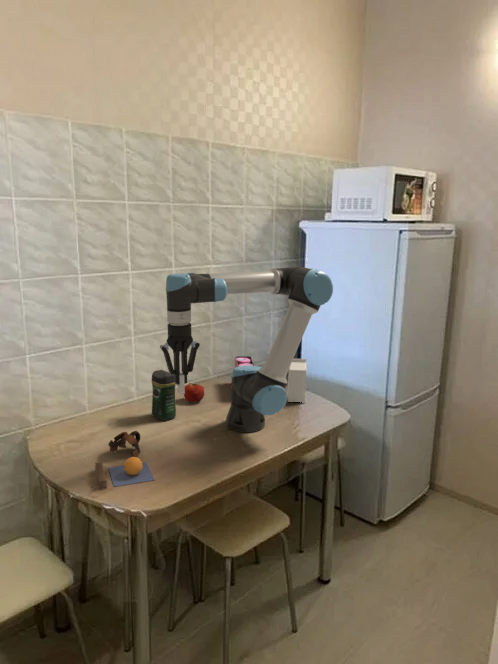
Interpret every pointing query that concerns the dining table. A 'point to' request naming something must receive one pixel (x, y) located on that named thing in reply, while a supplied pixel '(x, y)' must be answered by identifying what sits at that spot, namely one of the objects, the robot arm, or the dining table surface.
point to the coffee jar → (163, 395)
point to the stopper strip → (101, 475)
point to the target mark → (123, 478)
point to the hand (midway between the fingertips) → (181, 393)
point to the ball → (133, 466)
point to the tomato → (194, 392)
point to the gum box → (243, 361)
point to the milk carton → (297, 381)
